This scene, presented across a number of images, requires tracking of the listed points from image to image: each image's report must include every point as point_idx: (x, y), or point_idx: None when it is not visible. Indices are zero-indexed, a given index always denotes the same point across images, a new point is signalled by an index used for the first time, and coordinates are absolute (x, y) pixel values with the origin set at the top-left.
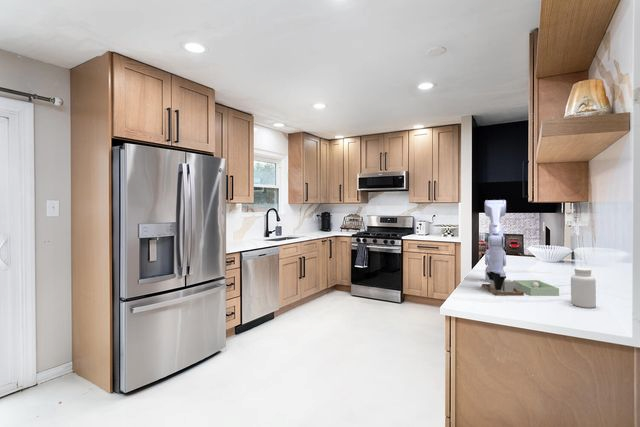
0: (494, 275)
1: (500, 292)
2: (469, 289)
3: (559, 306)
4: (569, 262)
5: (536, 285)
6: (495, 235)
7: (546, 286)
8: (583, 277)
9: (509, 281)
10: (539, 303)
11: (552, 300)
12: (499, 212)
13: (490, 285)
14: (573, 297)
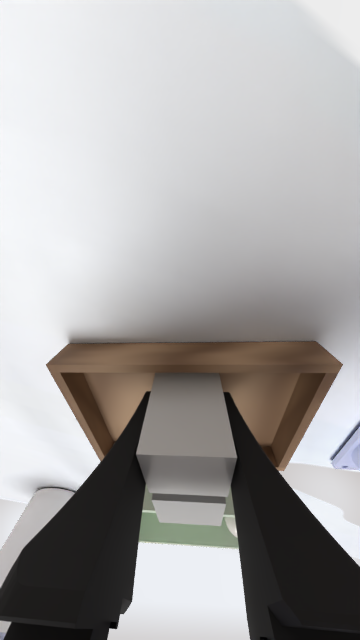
0: (3, 620)
1: (58, 386)
2: (297, 207)
3: (19, 464)
4: None
5: (225, 517)
6: None
7: (193, 527)
8: None
9: (161, 514)
10: (27, 442)
11: (89, 475)
12: None
13: (214, 396)
14: (30, 521)
